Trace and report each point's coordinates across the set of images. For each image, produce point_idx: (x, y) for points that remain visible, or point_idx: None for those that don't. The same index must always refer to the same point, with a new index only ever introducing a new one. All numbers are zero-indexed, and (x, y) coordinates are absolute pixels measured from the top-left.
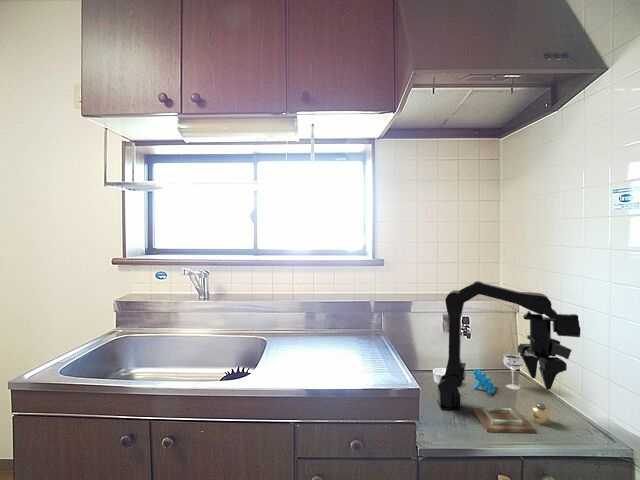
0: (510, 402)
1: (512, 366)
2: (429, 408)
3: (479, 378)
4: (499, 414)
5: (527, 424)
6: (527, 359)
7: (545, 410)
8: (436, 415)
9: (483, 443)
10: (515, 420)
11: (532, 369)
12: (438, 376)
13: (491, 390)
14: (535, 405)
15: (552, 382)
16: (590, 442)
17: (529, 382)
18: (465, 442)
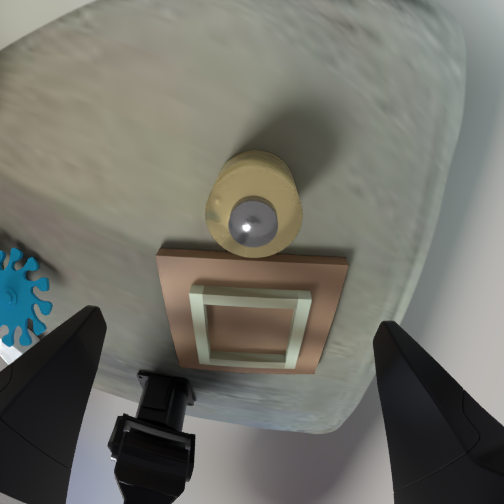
0: (82, 230)
1: None
2: (189, 412)
3: (21, 327)
4: (222, 325)
5: (308, 275)
6: (52, 487)
7: (288, 210)
8: (224, 412)
9: (361, 379)
10: (298, 317)
11: (70, 390)
12: None
13: (31, 270)
14: (219, 230)
15: (441, 373)
16: (436, 100)
17: None
18: (347, 398)
